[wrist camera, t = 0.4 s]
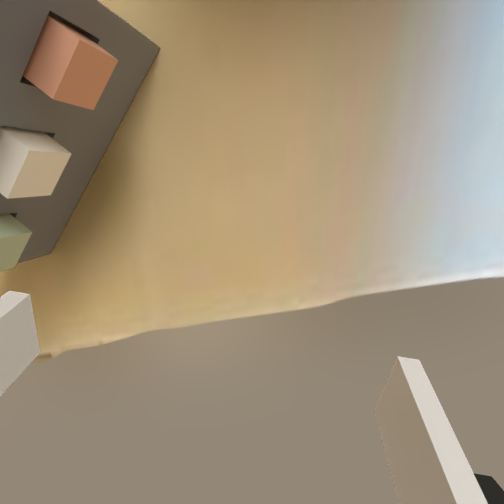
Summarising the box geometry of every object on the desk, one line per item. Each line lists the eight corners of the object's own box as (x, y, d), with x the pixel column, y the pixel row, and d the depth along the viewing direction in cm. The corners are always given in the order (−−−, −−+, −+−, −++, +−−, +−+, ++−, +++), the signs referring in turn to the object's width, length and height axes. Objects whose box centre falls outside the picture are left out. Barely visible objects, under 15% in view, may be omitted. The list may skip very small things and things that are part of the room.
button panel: (115, 13, 36) (-79, -132, 19) (160, 48, 36) (5, -68, 19) (14, 224, 44) (-183, 256, 27) (50, 253, 44) (-126, 303, 27)
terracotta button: (66, 20, 29) (18, -8, 24) (118, 60, 28) (79, 39, 24) (44, 71, 30) (-5, 54, 26) (93, 110, 30) (52, 99, 25)
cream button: (24, 116, 31) (-26, 107, 27) (71, 153, 31) (29, 150, 27) (5, 159, 33) (-45, 157, 28) (50, 195, 32) (7, 198, 28)
